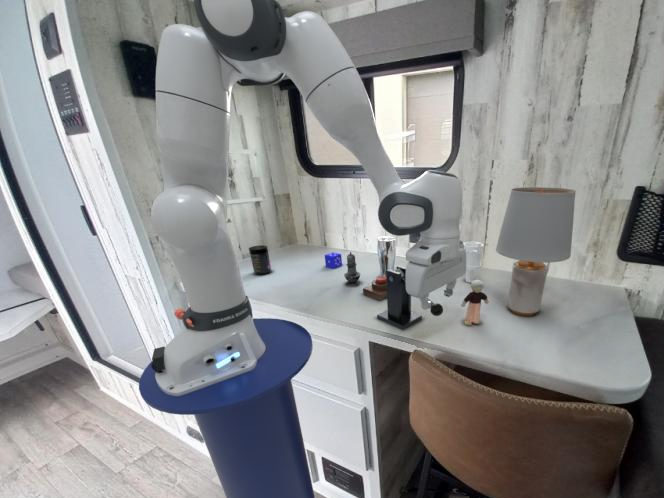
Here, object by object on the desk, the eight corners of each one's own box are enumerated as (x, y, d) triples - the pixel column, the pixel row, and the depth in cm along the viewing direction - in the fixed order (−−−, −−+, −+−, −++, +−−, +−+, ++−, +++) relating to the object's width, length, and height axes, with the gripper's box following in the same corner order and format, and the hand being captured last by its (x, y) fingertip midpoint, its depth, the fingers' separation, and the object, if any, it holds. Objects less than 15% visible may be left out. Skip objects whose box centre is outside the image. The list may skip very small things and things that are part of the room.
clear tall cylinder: (467, 285, 109) (471, 244, 103) (456, 279, 115) (459, 239, 109) (483, 282, 112) (488, 242, 106) (471, 276, 118) (475, 237, 112)
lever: (442, 315, 78) (447, 307, 76) (435, 320, 76) (440, 311, 74) (397, 275, 85) (401, 266, 83) (389, 278, 82) (392, 269, 80)
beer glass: (375, 275, 120) (374, 237, 113) (392, 273, 122) (391, 235, 116) (382, 281, 114) (380, 241, 108) (399, 278, 116) (398, 239, 110)
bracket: (421, 319, 87) (422, 269, 81) (403, 330, 82) (402, 278, 75) (395, 308, 93) (395, 262, 87) (377, 318, 88) (374, 269, 82)
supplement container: (269, 275, 121) (264, 249, 117) (252, 276, 121) (246, 250, 116) (274, 269, 128) (269, 245, 123) (257, 270, 127) (251, 245, 122)
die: (325, 266, 131) (324, 255, 128) (334, 263, 134) (333, 252, 132) (333, 268, 128) (332, 257, 126) (342, 265, 132) (341, 254, 130)
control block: (379, 300, 99) (379, 289, 97) (363, 294, 104) (362, 283, 102) (400, 291, 105) (400, 280, 104) (383, 285, 110) (383, 275, 109)
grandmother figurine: (466, 328, 82) (470, 284, 77) (458, 322, 85) (461, 279, 80) (489, 322, 85) (494, 279, 80) (480, 316, 88) (485, 275, 83)
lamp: (482, 296, 101) (495, 187, 86) (541, 297, 100) (563, 186, 86) (497, 325, 83) (516, 194, 69) (568, 325, 83) (602, 193, 68)
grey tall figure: (352, 279, 116) (350, 248, 111) (364, 282, 113) (362, 251, 108) (341, 284, 112) (338, 252, 107) (353, 287, 109) (350, 255, 104)
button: (381, 285, 101) (381, 280, 100) (374, 283, 103) (373, 278, 102) (389, 282, 103) (389, 277, 102) (381, 280, 105) (381, 275, 105)
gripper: (452, 236, 79) (450, 286, 85) (400, 254, 65) (401, 312, 71) (474, 240, 75) (470, 292, 81) (423, 260, 61) (422, 320, 67)
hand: (437, 301), depth 76 cm, fingers open, 8 cm apart
